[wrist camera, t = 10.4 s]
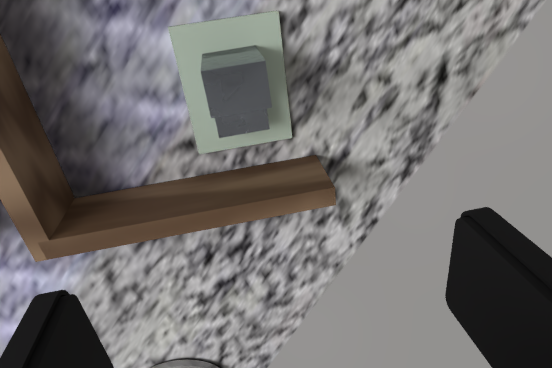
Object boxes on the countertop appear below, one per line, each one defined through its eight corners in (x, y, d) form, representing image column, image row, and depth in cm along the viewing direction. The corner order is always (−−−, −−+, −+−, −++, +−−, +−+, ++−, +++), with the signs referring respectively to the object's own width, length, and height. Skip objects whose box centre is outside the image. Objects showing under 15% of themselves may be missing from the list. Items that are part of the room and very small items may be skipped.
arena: (316, 170, 35) (335, 204, 30) (63, 216, 33) (35, 261, 28) (293, -128, 24) (316, -156, 19) (-82, -82, 22) (-170, -99, 17)
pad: (291, 136, 33) (292, 137, 32) (199, 152, 32) (199, 154, 32) (277, 10, 28) (278, 11, 28) (168, 26, 27) (168, 27, 27)
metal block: (255, 45, 28) (265, 60, 23) (266, 120, 31) (277, 149, 26) (202, 53, 28) (200, 71, 23) (218, 129, 31) (220, 159, 26)
